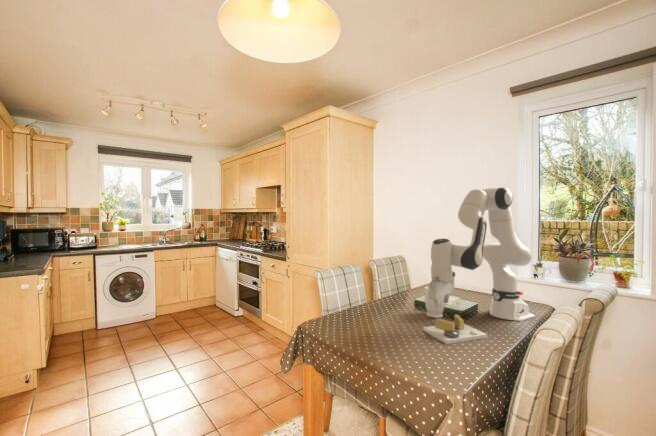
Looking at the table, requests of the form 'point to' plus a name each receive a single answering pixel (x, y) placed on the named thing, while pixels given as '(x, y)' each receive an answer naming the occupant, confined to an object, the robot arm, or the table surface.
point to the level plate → (464, 335)
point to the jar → (433, 306)
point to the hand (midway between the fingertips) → (441, 305)
